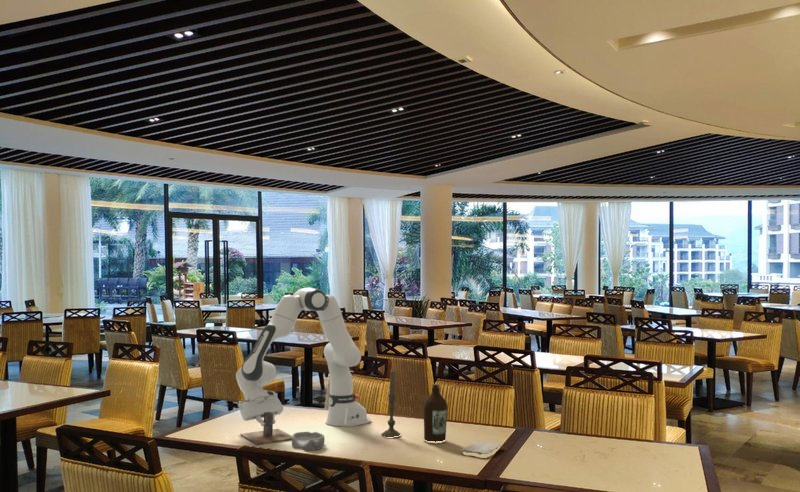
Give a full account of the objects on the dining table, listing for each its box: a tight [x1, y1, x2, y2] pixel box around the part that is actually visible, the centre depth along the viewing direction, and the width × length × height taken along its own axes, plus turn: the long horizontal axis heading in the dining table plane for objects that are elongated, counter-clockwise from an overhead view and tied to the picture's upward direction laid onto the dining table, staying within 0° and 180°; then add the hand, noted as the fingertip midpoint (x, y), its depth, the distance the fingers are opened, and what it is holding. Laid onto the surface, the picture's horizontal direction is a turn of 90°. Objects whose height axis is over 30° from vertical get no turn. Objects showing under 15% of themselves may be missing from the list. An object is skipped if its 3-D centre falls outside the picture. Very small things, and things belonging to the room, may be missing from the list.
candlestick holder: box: [380, 368, 401, 438], centre depth 300 cm, size 9×9×30 cm
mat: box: [237, 434, 292, 447], centre depth 289 cm, size 20×20×1 cm
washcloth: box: [460, 441, 502, 455], centre depth 276 cm, size 12×18×3 cm, turn 150°
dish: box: [291, 431, 326, 451], centre depth 279 cm, size 14×14×5 cm
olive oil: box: [423, 383, 448, 442], centre depth 291 cm, size 11×11×25 cm
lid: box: [239, 412, 292, 446], centre depth 289 cm, size 18×18×11 cm
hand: (269, 424), depth 289 cm, fingers closed on lid, 4 cm apart
